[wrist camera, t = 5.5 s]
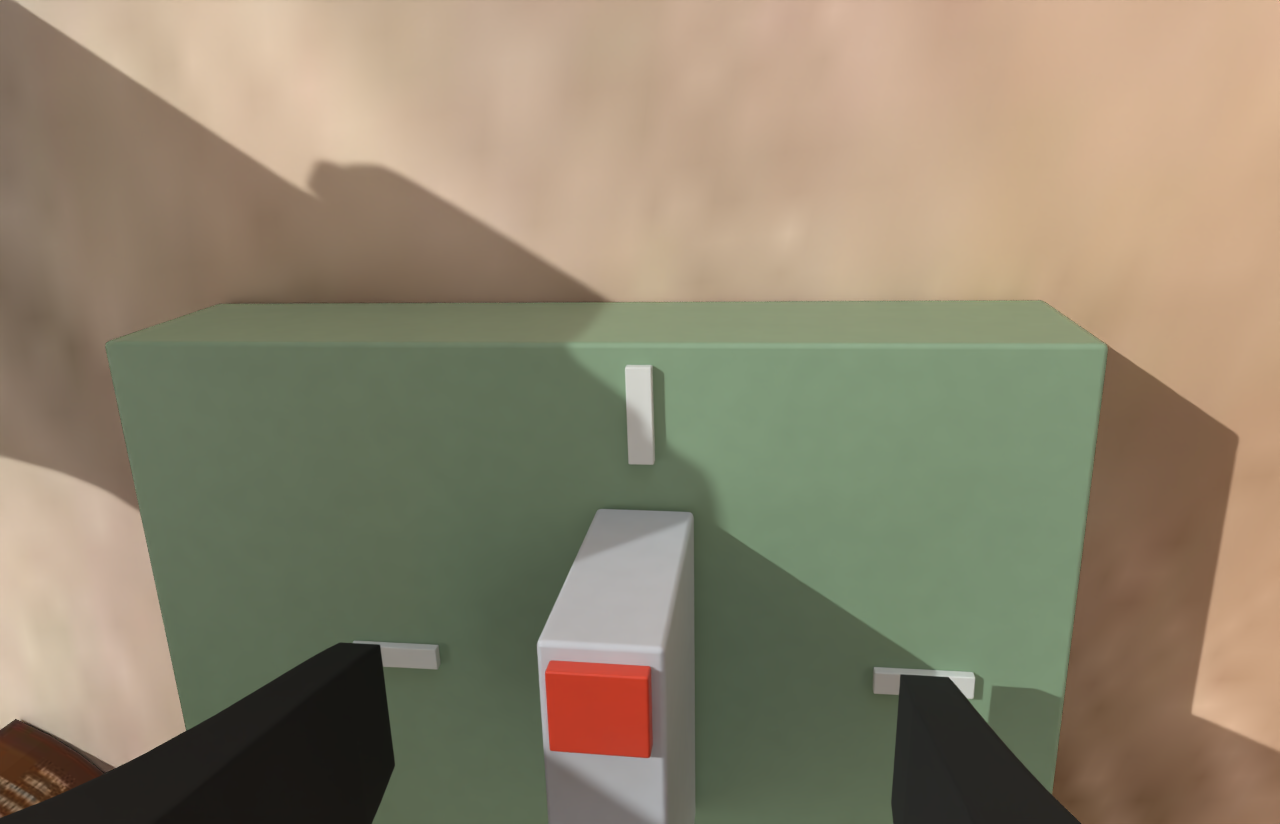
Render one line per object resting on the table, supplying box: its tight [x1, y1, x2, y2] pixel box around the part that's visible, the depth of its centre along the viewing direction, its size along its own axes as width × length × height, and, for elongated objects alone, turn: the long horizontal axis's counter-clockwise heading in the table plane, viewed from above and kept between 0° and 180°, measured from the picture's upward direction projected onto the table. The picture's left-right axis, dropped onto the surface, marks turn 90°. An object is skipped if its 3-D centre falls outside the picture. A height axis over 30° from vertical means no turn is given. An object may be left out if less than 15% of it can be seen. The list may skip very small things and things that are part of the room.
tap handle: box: [537, 509, 695, 824], centre depth 12 cm, size 5×1×4 cm, turn 1°
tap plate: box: [105, 300, 1108, 824], centre depth 15 cm, size 14×10×3 cm
